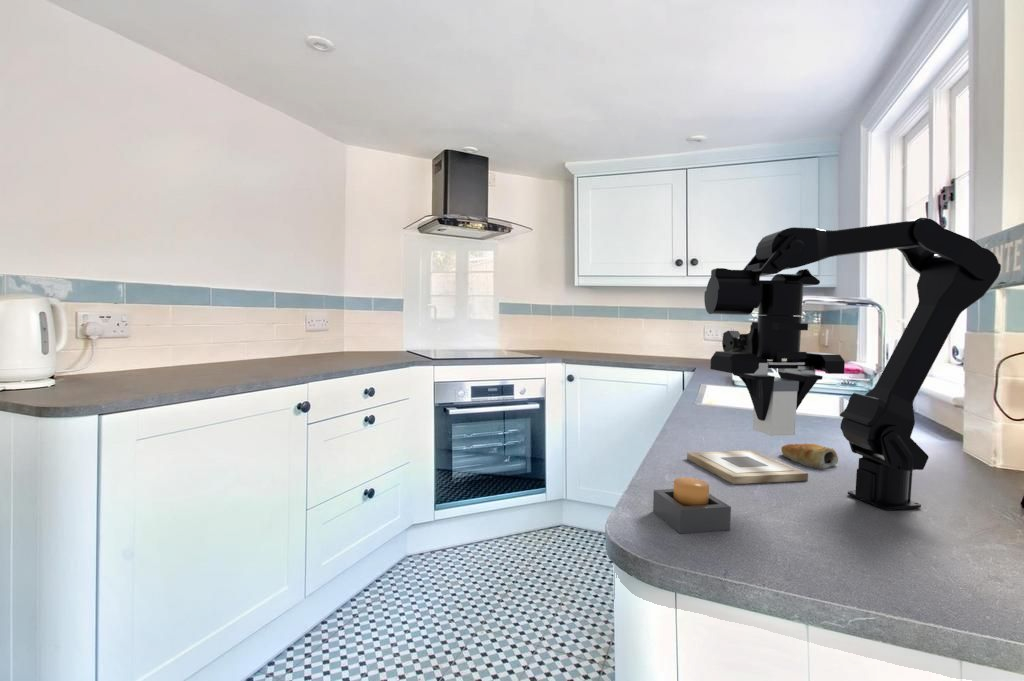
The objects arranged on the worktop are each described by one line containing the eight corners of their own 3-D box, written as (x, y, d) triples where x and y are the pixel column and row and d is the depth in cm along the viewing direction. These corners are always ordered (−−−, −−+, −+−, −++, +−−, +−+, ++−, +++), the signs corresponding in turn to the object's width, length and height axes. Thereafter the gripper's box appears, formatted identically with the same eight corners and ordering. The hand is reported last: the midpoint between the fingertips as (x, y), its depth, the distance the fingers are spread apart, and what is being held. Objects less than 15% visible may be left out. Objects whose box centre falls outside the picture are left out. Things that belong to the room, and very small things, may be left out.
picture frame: (752, 456, 96) (752, 449, 96) (807, 480, 83) (808, 472, 83) (686, 458, 94) (687, 451, 94) (733, 484, 80) (733, 475, 80)
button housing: (698, 508, 69) (699, 487, 69) (729, 529, 63) (731, 506, 62) (653, 511, 68) (653, 489, 68) (679, 533, 61) (680, 509, 61)
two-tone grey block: (775, 428, 76) (778, 377, 76) (795, 435, 72) (799, 381, 72) (751, 429, 76) (754, 377, 75) (770, 435, 72) (773, 381, 71)
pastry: (772, 457, 97) (773, 438, 97) (794, 453, 100) (795, 435, 100) (819, 471, 89) (820, 450, 89) (842, 467, 92) (843, 446, 92)
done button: (696, 494, 68) (697, 477, 68) (715, 506, 64) (716, 488, 63) (667, 495, 67) (667, 478, 67) (684, 508, 63) (685, 489, 63)
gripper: (793, 316, 83) (788, 408, 84) (692, 314, 79) (688, 410, 80) (850, 317, 72) (844, 423, 73) (736, 314, 68) (731, 425, 69)
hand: (773, 419), depth 74 cm, fingers closed on two-tone grey block, 4 cm apart
